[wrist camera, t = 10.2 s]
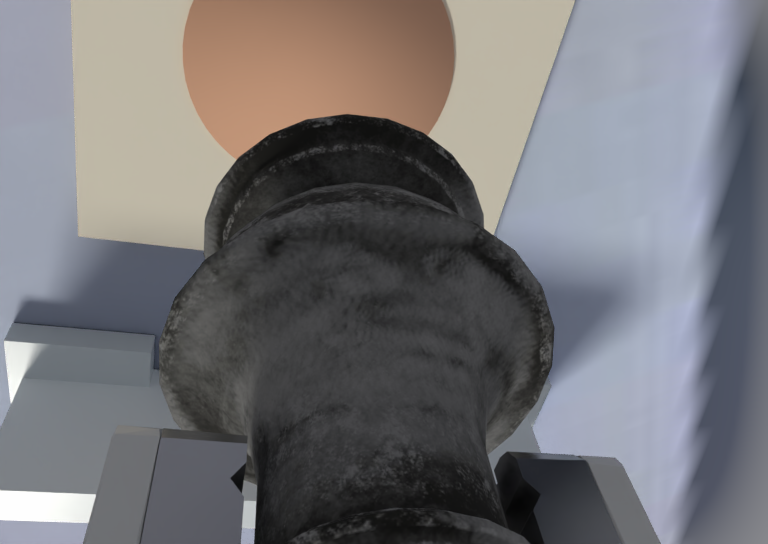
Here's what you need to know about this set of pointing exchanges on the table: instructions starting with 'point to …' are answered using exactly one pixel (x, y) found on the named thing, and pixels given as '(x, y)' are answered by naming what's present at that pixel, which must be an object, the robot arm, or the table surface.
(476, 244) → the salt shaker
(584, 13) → the table surface
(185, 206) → the mat
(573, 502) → the robot arm
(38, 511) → the acrylic wall
